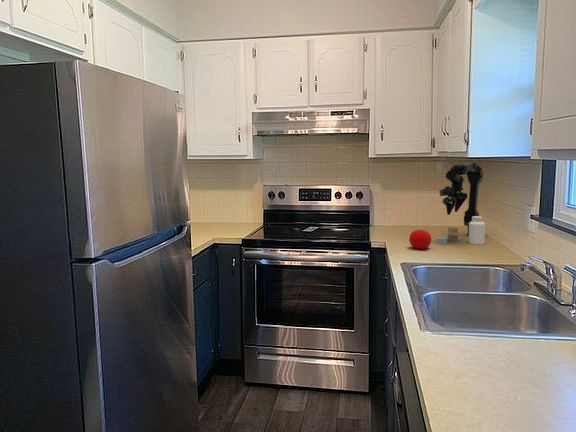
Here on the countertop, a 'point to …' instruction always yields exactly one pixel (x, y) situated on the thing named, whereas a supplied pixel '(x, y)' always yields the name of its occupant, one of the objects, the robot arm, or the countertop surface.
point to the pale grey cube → (441, 240)
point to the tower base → (452, 237)
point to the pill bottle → (476, 230)
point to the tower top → (452, 231)
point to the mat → (456, 241)
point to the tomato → (420, 239)
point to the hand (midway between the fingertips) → (451, 213)
